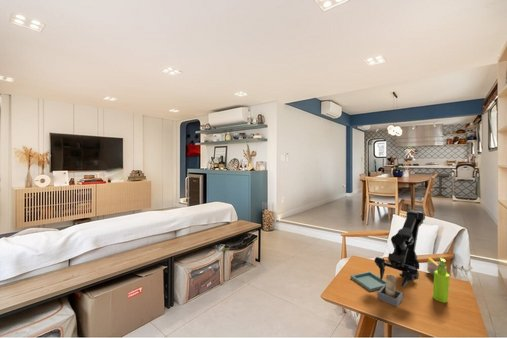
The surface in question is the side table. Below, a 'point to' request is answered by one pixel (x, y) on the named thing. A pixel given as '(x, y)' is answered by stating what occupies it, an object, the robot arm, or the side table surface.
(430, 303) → the side table surface
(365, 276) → the green-grey tray
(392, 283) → the rounded wooden peg
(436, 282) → the soap dispenser
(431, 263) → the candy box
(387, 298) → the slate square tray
